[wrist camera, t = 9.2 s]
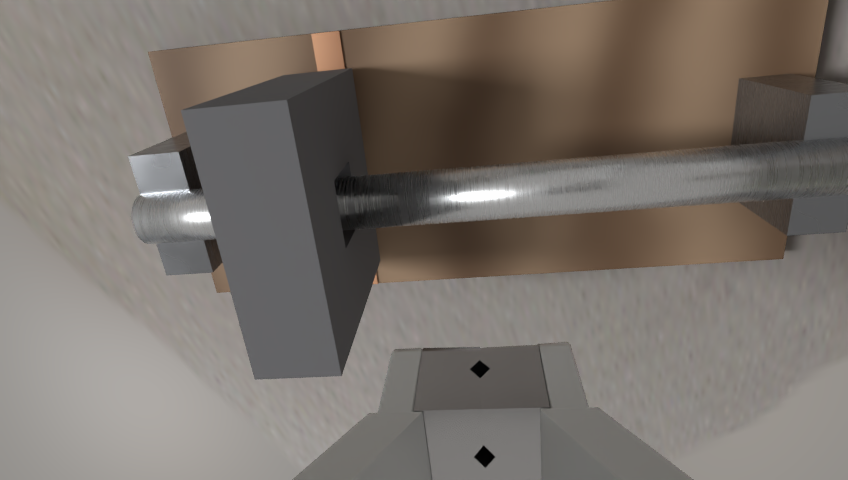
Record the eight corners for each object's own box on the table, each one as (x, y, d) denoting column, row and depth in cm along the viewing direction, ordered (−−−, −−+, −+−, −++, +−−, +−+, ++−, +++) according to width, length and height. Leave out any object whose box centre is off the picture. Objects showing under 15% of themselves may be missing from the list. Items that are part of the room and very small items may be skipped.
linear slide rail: (790, 73, 22) (900, 93, 16) (771, 189, 24) (865, 242, 18) (191, 129, 24) (111, 163, 19) (218, 229, 26) (153, 286, 21)
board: (816, -23, 21) (834, -25, 20) (771, 250, 26) (784, 259, 25) (159, 50, 24) (146, 52, 23) (224, 283, 29) (216, 293, 28)
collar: (352, 68, 22) (286, 99, 14) (380, 260, 26) (341, 376, 18) (283, 75, 23) (180, 110, 14) (320, 263, 26) (254, 379, 18)
